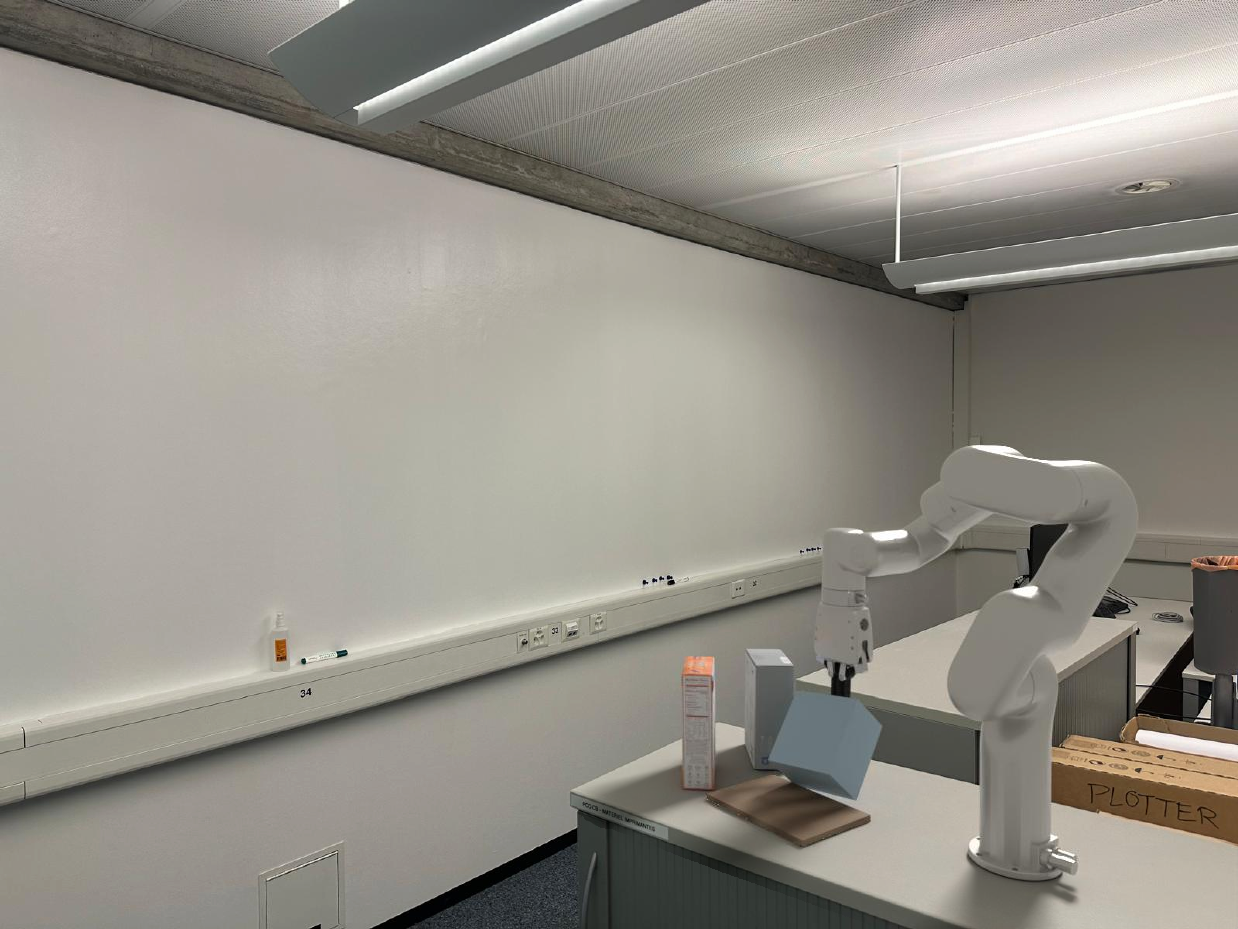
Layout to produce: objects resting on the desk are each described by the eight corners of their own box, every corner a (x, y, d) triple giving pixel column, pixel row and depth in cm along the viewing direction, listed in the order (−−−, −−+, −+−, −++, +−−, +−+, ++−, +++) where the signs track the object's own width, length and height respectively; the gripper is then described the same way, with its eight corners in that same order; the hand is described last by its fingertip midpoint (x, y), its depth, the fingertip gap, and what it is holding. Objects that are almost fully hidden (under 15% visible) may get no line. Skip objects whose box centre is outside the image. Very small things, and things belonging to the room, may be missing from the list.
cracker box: (684, 762, 165) (685, 654, 165) (716, 763, 164) (716, 655, 164) (680, 790, 151) (680, 672, 151) (714, 792, 150) (714, 674, 150)
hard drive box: (794, 771, 160) (794, 666, 160) (753, 771, 160) (754, 665, 160) (780, 743, 175) (780, 647, 175) (743, 743, 176) (743, 647, 176)
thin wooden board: (870, 821, 138) (870, 815, 138) (803, 847, 129) (803, 840, 129) (772, 779, 156) (772, 774, 156) (706, 799, 147) (706, 793, 146)
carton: (882, 726, 149) (857, 699, 145) (856, 800, 142) (829, 774, 139) (821, 715, 159) (796, 690, 155) (794, 785, 152) (767, 760, 148)
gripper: (891, 602, 147) (889, 707, 147) (824, 589, 159) (822, 686, 160) (863, 607, 142) (860, 715, 143) (796, 593, 155) (794, 692, 155)
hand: (840, 699), depth 151 cm, fingers closed
